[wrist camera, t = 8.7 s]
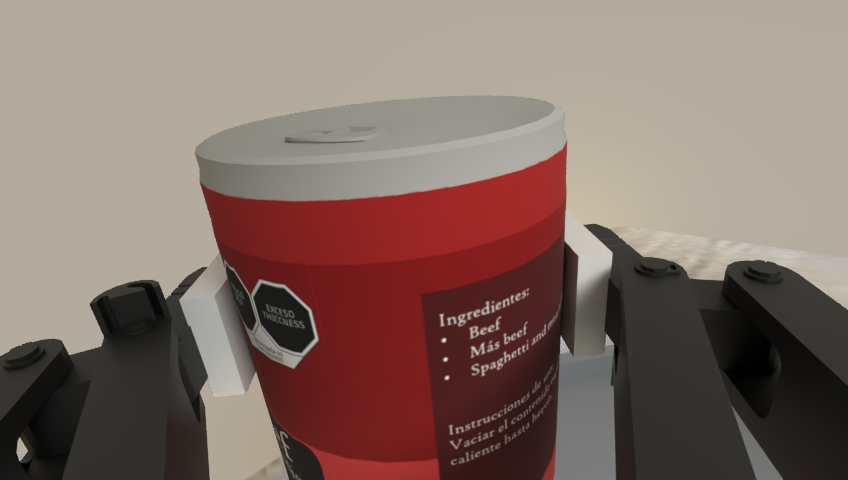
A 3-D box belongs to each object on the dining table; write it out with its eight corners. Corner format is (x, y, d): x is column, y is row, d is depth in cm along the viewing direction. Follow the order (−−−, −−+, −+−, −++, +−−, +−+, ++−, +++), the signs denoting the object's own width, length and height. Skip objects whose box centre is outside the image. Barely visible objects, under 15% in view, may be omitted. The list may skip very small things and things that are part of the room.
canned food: (327, 391, 18) (264, 111, 14) (527, 379, 18) (527, 86, 13) (261, 612, 11) (86, 180, 7) (590, 600, 11) (634, 131, 6)
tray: (693, 358, 34) (698, 331, 33) (943, 584, 20) (965, 548, 19) (491, 393, 33) (490, 365, 32) (598, 664, 18) (602, 629, 17)
